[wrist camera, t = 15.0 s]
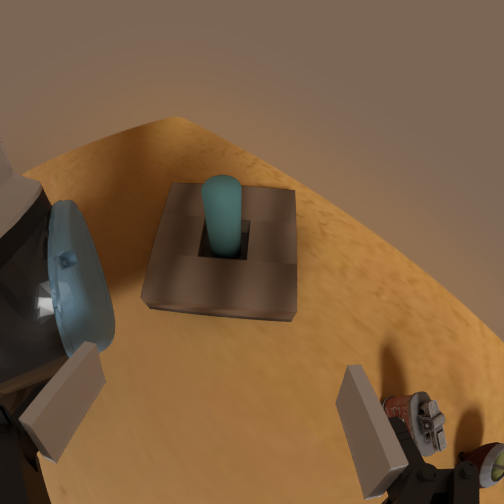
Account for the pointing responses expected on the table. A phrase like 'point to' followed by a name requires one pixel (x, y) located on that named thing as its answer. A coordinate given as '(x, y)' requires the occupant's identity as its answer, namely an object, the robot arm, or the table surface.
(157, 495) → the table surface
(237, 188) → the pin
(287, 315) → the hole board
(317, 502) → the table surface
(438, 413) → the lighter
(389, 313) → the table surface
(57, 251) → the robot arm
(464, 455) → the mate gourd
